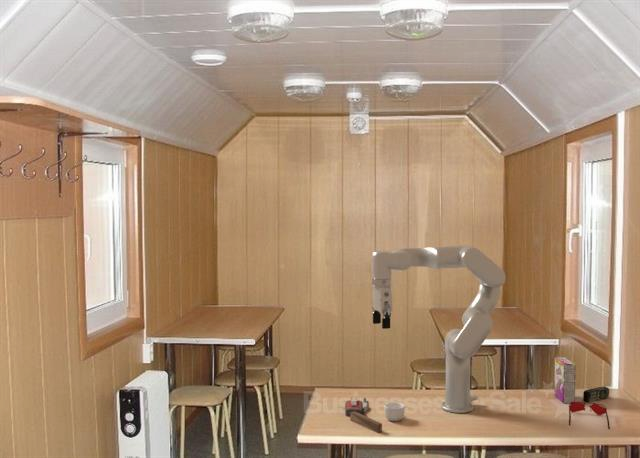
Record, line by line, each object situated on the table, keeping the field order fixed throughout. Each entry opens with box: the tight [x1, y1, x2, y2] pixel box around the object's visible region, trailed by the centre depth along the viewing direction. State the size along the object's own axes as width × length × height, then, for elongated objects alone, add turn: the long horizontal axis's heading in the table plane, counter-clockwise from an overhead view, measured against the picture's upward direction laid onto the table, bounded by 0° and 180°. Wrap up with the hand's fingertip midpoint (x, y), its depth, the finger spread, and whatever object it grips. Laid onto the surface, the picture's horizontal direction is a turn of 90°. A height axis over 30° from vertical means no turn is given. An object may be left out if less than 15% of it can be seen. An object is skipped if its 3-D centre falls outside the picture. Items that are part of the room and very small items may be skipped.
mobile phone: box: [582, 386, 610, 404], centre depth 272 cm, size 5×3×15 cm
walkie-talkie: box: [344, 397, 369, 417], centre depth 261 cm, size 9×4×20 cm
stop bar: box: [349, 411, 383, 434], centre depth 242 cm, size 2×16×3 cm, turn 35°
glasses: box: [568, 401, 611, 430], centre depth 248 cm, size 14×16×5 cm
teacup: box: [383, 401, 405, 422], centre depth 250 cm, size 10×8×5 cm
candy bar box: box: [554, 356, 576, 405], centre depth 272 cm, size 11×5×16 cm, turn 179°
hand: (381, 325), depth 258 cm, fingers open, 9 cm apart
